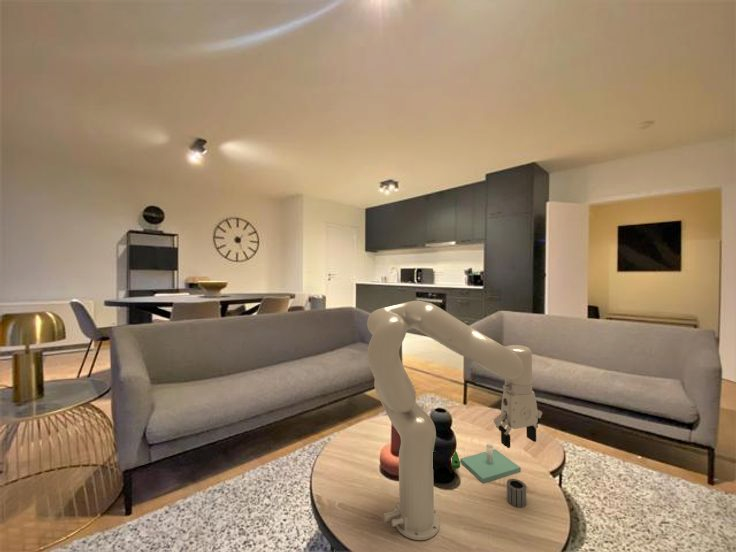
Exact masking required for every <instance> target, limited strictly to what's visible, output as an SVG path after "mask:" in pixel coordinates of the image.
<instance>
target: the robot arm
mask: <svg viewBox="0 0 736 552" xmlns="http://www.w3.org/2000/svg"><path fill="white" fill-rule="evenodd" d="M366 327H367V330H368V332H369V333H370V334H371V338H370V340H369V343H368V347H367V351H366V352H367V353H366V359H367V362H368V366H369V368H370V371H371V373H372V376H373V378H374V381H373V384H374V385H373V386H374V390H375V393H376V394H377V397H378V399H379V400H380V401H379V402H380V403H381V405H382V406H383V409H384V411H385V412H386V415H387V417H388V419H389V421H390V422H391V424H392V426H393V427H394V429H395V430H396V432H397V433H398V434H399V437H400V447H399V451H398V487H399V488H398V496H399V499H398V500H399V501H398V503H395V508H394V509H393V510H392V511H388V512H384V513H383V514H382V516H383V517H382V518H383V521H384V523H388V522H390V521H391V522H390V524H391V526H392V527H396V530H398V532H399V533H400V534H401V535H402V536H405V537H406V538H408V539H410V540H413V541H414V540H415V541H425V540H429V539H431V538H433V537H435V536H436V535H437V533H438V532H439V530H440V526H441V524H440V523H441V521H440V517H439V514H438V512H437V511H436V510H435V507H434V506H435V505H434V503H435V502H434V501H435V500H434V497H435V496H434V495H435V494H434V492H435V491H434V469H433V452H435V451H434V450H435V443H436V438H437V431H436V430H437V429H436V426H435V423H434V421H433V420H432V417H430V415H429V414H428V413H427V412H426V411H425V410H424V408H422V407H421V406H420V405H419V404H418V403H417V393H416V388H415V386H414V385H413V382H412V381H411V379H410V377H409V375H408V372H407V370H406V369H405V367H404V365H403V362H402V360H401V357H400V349H401V346H402V344H403V342H404V340H405V337H406V335H407V331H408V330H412V329H414V330H417V331H419V332H420V333H422V334H423V335H425V336H426V337H429V338H430V339H432V340H434V341H435V342H437V343H439V344H440V345H442V346H444V347H446V348H447V349H449V350H450V351H451V352H454V353H455V354H458V355H460V356H461V357H464V358H466V359H469V360H471V361H473V362H475V363H477V364H479V366H480V367H482V368H483V369H484V370H486V371H488V372H490V373H493V374H494V375H497V376H498V377H501V378H503V379H504V385H502V389H503V393H502V398H501V407H500V408H501V411H500V414H499V415H497V416H496V417H494V418H493V423H494V425H495V427H496V428H497V429H498V431H500V443H501V445H503V446H504V447H505V448H507V449H510V448H511V434H510V432H511V430H512V429H513V430H517V429H522V428H523V429H524V428H526V438H527V439H528V440H530V441H532V442H533V443H536V442H537V429H538V428H539V423H540V422H541V417H542V415H543V411H541V410H540V409H538V405H537V398H536V393H535V391H533V352H532V350H531V348H530V347H528V346H525V345H521V344H520V345H519V344H511V345H507V346H505V345H502V344H500V343H499V342H497V341H496V340H494V339H493V338H490V337H489V336H487V335H485V334H483V333H482V332H480V331H478V329H477V330H476V328H473V327H471V326H470V325H468V324H466V323H464V322H463V321H461V320H460V319H458V318H457V317H455V316H453V315H451V314H450V313H448V311H445V310H444V309H442V308H441V307H439V306H437V305H436V304H434V303H430V302H427V301H423V300H412V301H406V302H402V303H398V304H394V305H390V306H389V305H388V306H386V307H381V308H378V309H376V310H374V311H372V312H371V313H370V314H369V316H368V318H367V322H366Z"/></svg>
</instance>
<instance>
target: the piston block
mask: <svg viewBox="0 0 736 552" xmlns="http://www.w3.org/2000/svg"><path fill="white" fill-rule="evenodd" d="M493 448H494V447H493V444H492V443H491V442H488V443H487V444H486V451H484V452H480V453H476V454H472V455H469V456H464V457H462V458H460V457H459V460H460V462H461V463H462V464H461V463H460V464H461V465H462V466H464V467H465V468H466V469H467V470H468V471H469V472H470V473H471V474H472V475H473V474H474V475H473V476H475V477H476V479H478V480H479V481H480V482H481V483H482V484H485V483H489V482H492V481H495V480H498V479H502V478H506V477H509V476H511V475H512V476H513V475H514V474H518V473H521V472H522V471H521V470H522V469H521V467H520V466H519V465H518V464H517V463H515V462H514V461H513V460H511V459H510V458H508V457H507V456H506V455H504V454H503V453H501V452H500V451H499V450H498V449H495V448H494V449H493ZM520 471H521V472H520ZM501 477H502V478H501Z"/></svg>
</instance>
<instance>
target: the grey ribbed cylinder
mask: <svg viewBox="0 0 736 552" xmlns="http://www.w3.org/2000/svg"><path fill="white" fill-rule="evenodd" d="M527 498H528V497H527V485H526V483H525V482H523V481H522V480H520V479H517V478H509V479H507V480H506V501H507V502H508V503H509V504H510V505H511V506H513V507H517V508H524V507H526V506H527V501H528V500H527Z"/></svg>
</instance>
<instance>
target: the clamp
mask: <svg viewBox="0 0 736 552" xmlns="http://www.w3.org/2000/svg"><path fill="white" fill-rule="evenodd" d="M454 451H455V454H454V455H453V457H452V470H453V471H454V470H457V469H460V467H461V463H460V457H459V455H458V452H457V451H456V450H454Z"/></svg>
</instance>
